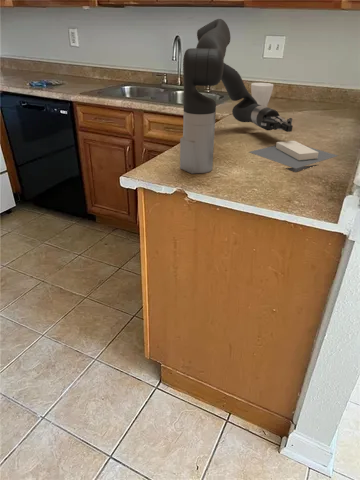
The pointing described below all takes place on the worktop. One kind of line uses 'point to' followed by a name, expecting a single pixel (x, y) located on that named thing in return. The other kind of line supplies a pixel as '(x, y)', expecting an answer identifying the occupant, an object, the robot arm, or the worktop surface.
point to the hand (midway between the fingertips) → (290, 128)
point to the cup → (261, 92)
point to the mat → (291, 158)
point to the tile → (297, 150)
